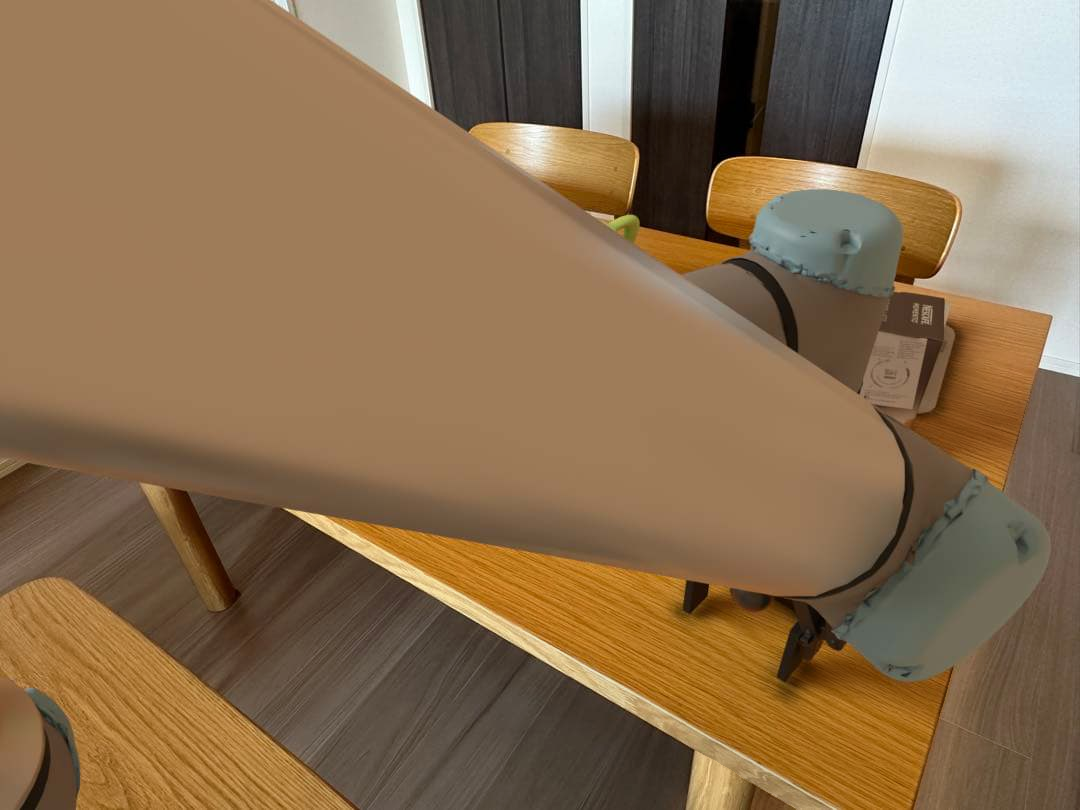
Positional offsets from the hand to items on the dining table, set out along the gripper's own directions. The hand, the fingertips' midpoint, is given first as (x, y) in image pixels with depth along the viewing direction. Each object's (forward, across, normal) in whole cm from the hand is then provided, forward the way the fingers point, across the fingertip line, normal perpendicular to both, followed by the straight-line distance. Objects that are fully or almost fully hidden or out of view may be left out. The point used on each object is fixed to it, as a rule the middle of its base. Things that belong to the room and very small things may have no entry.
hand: (740, 634), depth 59 cm
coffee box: (+1, +4, -33) cm, 33 cm away
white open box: (+1, +10, -49) cm, 50 cm away
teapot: (+1, +48, -31) cm, 57 cm away
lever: (-7, 0, -6) cm, 9 cm away
